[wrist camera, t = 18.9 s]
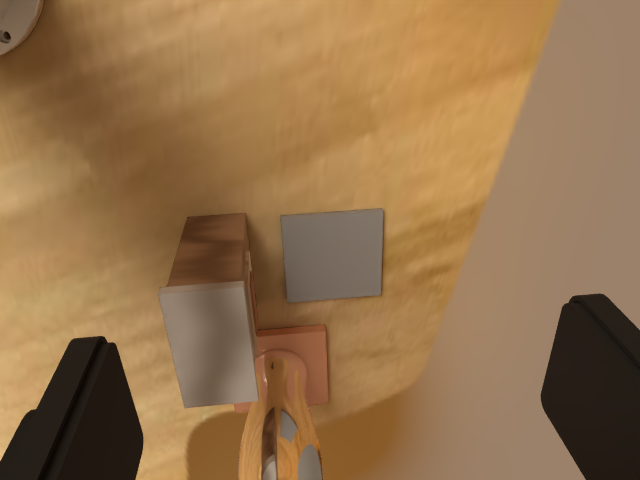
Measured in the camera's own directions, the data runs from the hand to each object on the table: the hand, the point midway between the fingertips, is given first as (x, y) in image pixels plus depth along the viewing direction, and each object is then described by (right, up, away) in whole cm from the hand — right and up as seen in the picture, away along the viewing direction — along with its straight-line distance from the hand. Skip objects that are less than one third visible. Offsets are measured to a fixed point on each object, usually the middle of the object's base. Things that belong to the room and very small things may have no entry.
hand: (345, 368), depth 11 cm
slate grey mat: (+1, +1, +37) cm, 37 cm away
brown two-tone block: (-9, +1, +36) cm, 37 cm away
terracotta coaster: (-5, -10, +43) cm, 44 cm away
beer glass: (-5, -11, +42) cm, 43 cm away
